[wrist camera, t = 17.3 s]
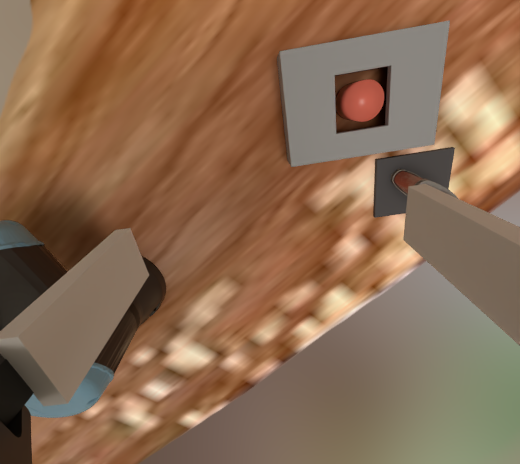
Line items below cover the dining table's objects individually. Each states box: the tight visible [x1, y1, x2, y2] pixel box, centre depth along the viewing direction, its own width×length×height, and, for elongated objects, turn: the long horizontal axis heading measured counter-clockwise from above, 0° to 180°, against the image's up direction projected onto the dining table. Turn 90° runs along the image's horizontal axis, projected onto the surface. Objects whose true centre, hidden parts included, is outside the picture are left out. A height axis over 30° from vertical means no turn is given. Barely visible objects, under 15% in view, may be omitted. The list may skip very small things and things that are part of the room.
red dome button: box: [335, 79, 384, 122], centre depth 36 cm, size 5×5×5 cm
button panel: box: [277, 21, 450, 167], centre depth 37 cm, size 20×14×5 cm
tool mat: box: [374, 147, 455, 217], centre depth 44 cm, size 12×10×1 cm
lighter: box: [390, 169, 458, 199], centre depth 39 cm, size 8×3×10 cm, turn 60°
